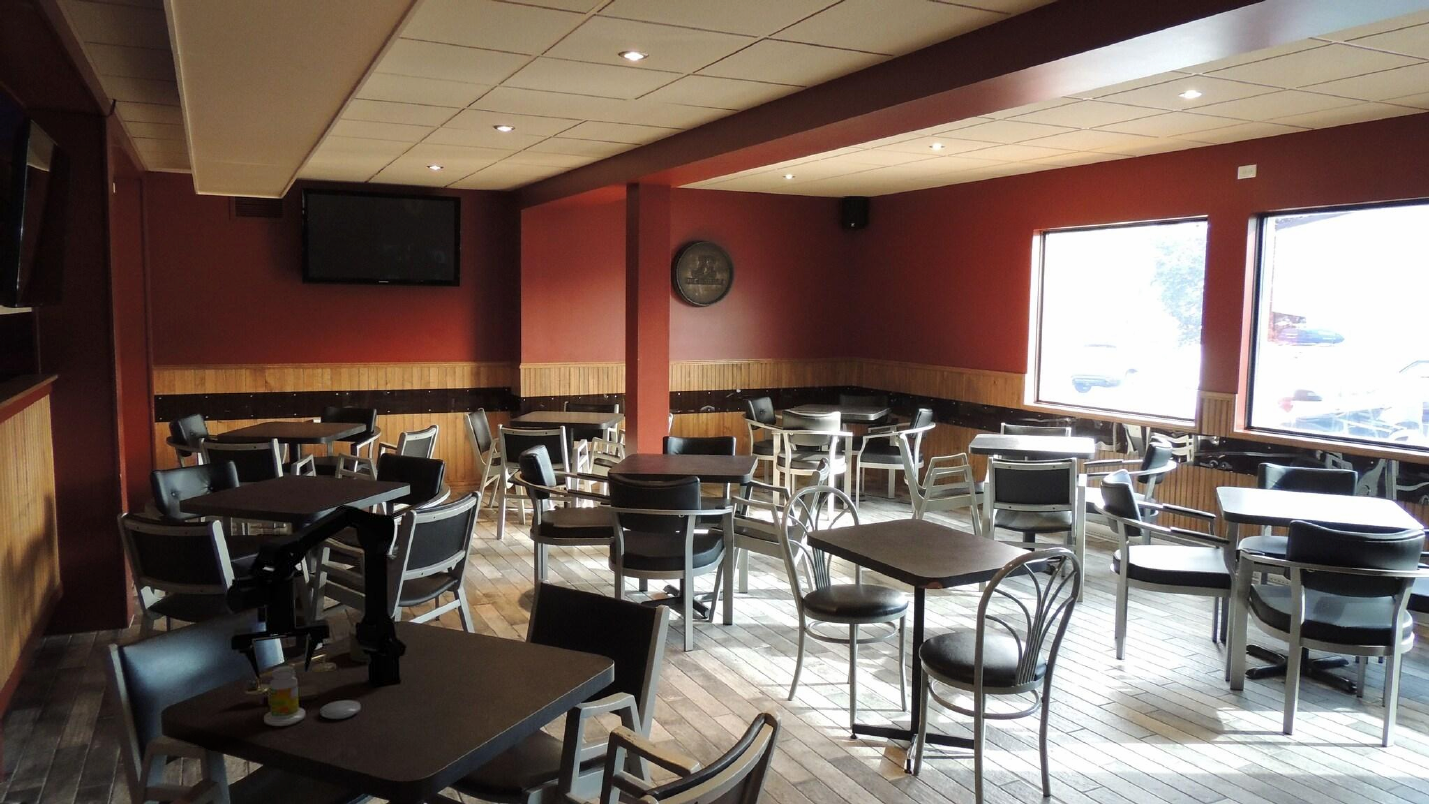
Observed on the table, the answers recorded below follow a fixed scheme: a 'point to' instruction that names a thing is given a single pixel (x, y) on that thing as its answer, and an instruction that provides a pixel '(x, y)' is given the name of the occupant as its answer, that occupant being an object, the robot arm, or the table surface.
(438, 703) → the table surface
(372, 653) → the robot arm
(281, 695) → the supplement bottle
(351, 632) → the can
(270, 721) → the dish
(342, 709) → the dish
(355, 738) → the table surface
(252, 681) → the balance
